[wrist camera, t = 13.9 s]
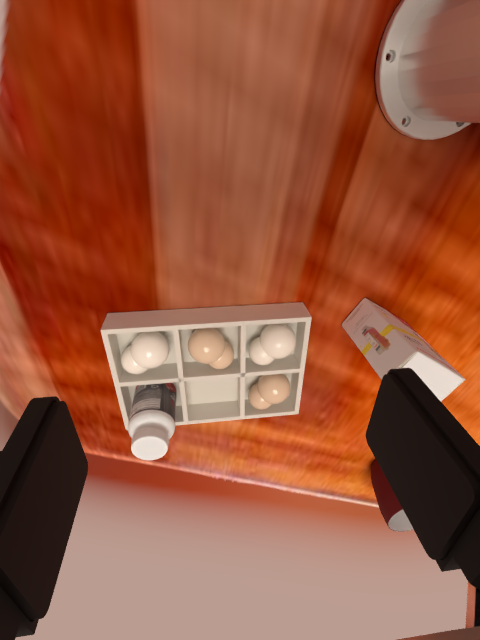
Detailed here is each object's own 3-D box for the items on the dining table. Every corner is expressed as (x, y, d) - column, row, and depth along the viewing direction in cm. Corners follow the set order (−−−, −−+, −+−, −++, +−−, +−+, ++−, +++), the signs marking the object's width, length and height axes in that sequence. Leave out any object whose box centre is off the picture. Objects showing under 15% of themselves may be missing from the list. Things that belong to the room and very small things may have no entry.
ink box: (408, 322, 46) (470, 381, 36) (383, 348, 47) (434, 411, 37) (364, 295, 42) (418, 351, 32) (339, 324, 44) (382, 385, 34)
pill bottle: (181, 397, 47) (179, 459, 38) (143, 405, 46) (133, 469, 38) (170, 368, 44) (166, 428, 35) (130, 377, 44) (116, 438, 35)
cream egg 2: (275, 309, 41) (283, 329, 37) (298, 328, 43) (307, 349, 39) (238, 341, 43) (242, 363, 39) (261, 359, 45) (267, 381, 41)
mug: (386, 436, 58) (419, 491, 50) (420, 444, 61) (458, 498, 52) (352, 472, 63) (377, 529, 54) (385, 479, 65) (414, 533, 57)
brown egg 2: (269, 358, 45) (276, 381, 41) (292, 372, 47) (301, 395, 43) (239, 387, 47) (242, 411, 43) (262, 400, 49) (267, 424, 45)
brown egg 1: (180, 334, 41) (179, 357, 37) (206, 313, 40) (208, 334, 36) (214, 362, 44) (217, 386, 41) (240, 343, 43) (245, 365, 39)
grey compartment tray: (302, 302, 42) (311, 316, 39) (291, 395, 50) (298, 413, 47) (107, 313, 39) (100, 330, 36) (130, 409, 47) (125, 430, 44)
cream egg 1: (151, 317, 39) (146, 338, 36) (178, 339, 41) (176, 361, 38) (114, 347, 41) (106, 371, 37) (142, 367, 43) (137, 391, 39)
